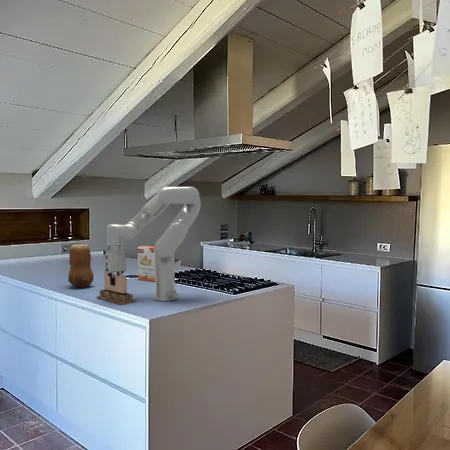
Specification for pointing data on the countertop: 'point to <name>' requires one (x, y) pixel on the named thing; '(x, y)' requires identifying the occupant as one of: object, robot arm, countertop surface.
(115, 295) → the slot rack
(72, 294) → the countertop surface
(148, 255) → the cracker box
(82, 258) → the butternut squash
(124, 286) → the clay strip
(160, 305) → the countertop surface
